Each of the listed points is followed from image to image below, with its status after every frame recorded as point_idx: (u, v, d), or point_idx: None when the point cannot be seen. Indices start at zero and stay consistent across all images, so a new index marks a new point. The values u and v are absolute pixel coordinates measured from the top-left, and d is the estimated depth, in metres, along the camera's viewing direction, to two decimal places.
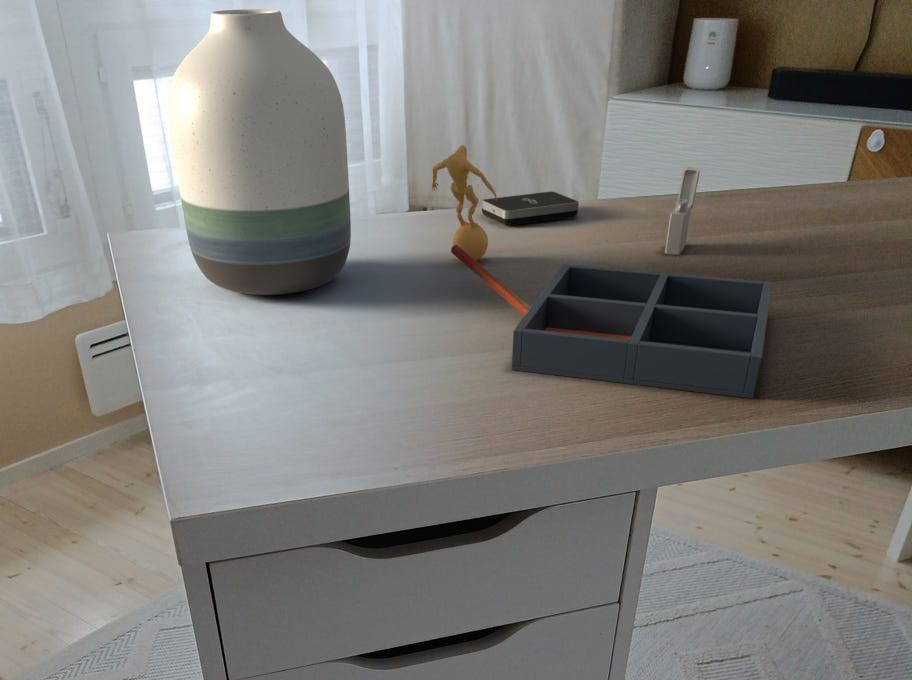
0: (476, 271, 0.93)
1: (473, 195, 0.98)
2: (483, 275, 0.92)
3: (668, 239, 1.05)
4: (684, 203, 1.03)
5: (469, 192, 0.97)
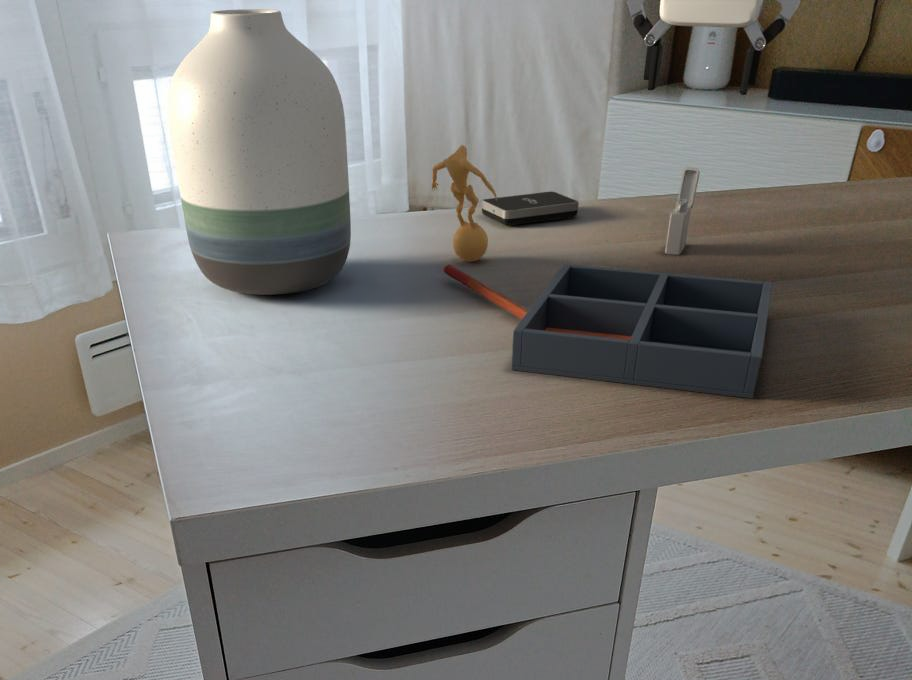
0: (471, 284, 0.93)
1: (473, 195, 0.98)
2: (479, 287, 0.92)
3: (668, 239, 1.05)
4: (684, 203, 1.03)
5: (469, 192, 0.97)
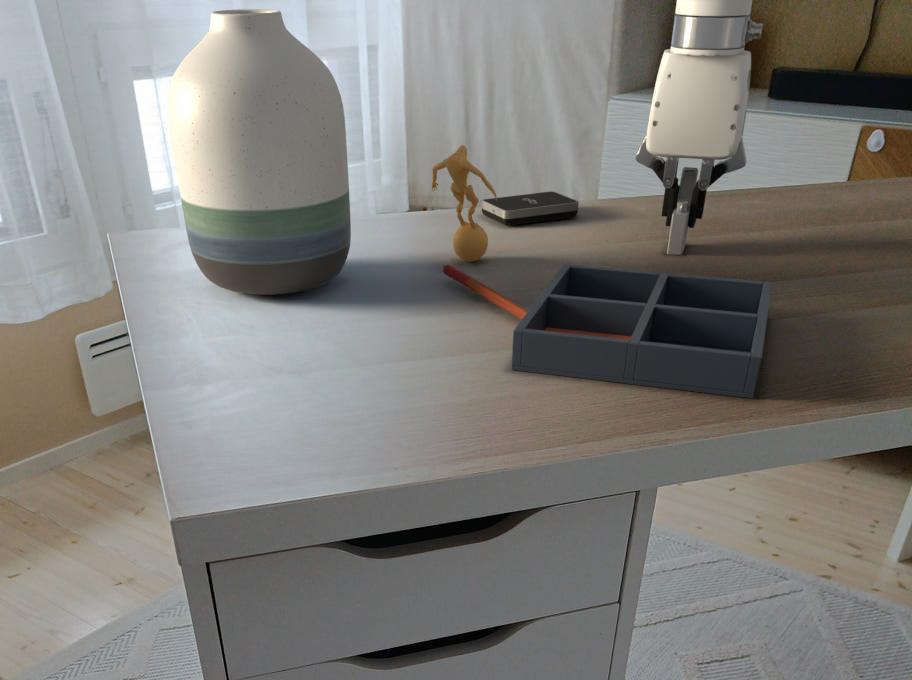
0: (470, 284, 0.93)
1: (473, 195, 0.98)
2: (478, 286, 0.92)
3: (670, 239, 1.05)
4: (685, 203, 1.03)
5: (469, 192, 0.97)
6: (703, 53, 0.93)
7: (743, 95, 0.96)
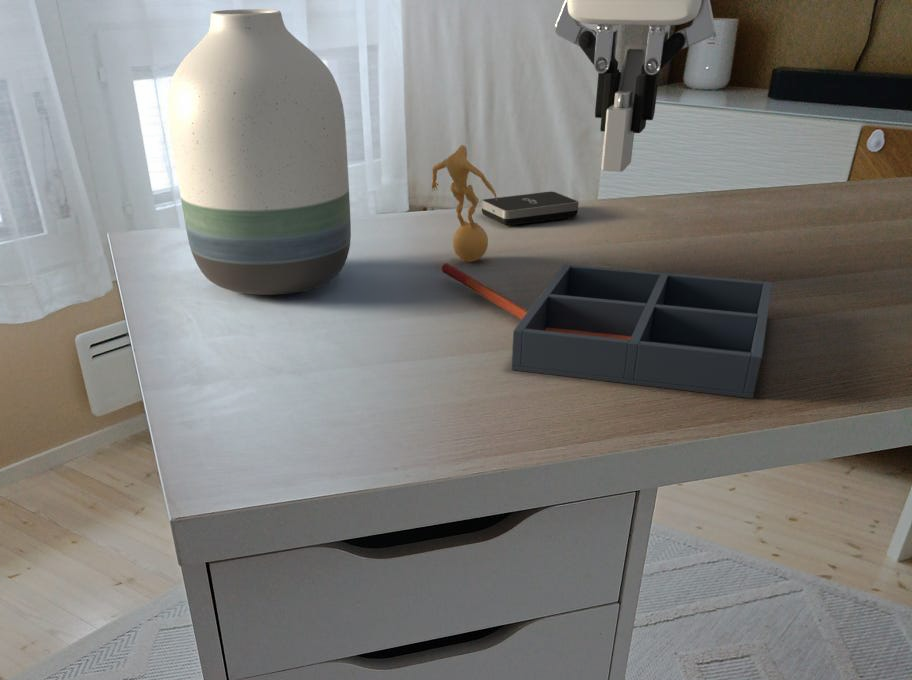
0: (470, 283, 0.93)
1: (473, 195, 0.98)
2: (478, 285, 0.92)
3: (605, 149, 0.72)
4: (626, 94, 0.71)
5: (469, 192, 0.97)
6: None
7: None
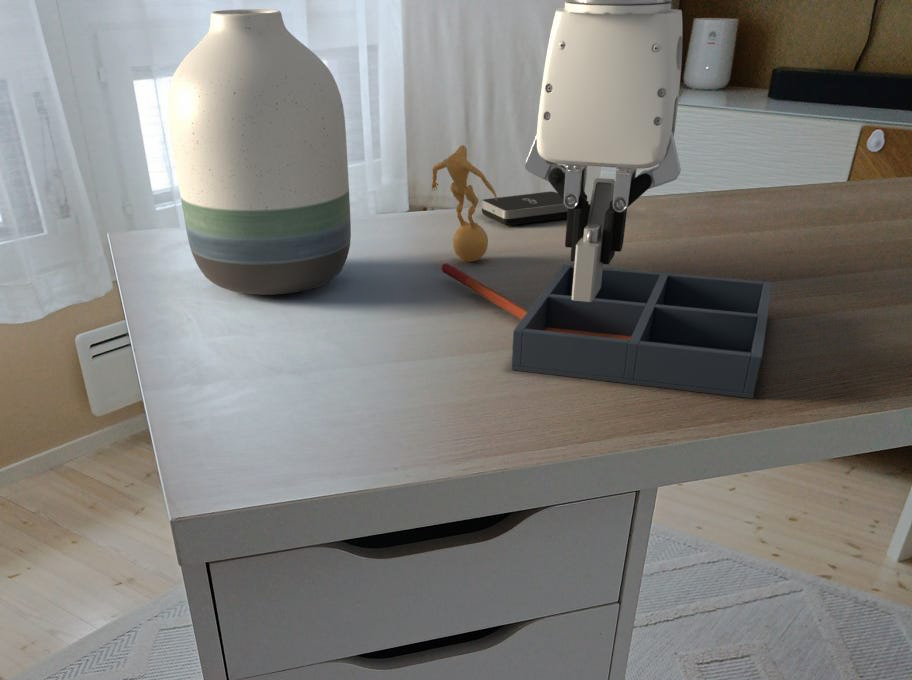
0: (470, 283, 0.93)
1: (473, 195, 0.98)
2: (478, 285, 0.92)
3: (575, 281, 0.74)
4: (595, 230, 0.72)
5: (469, 192, 0.97)
6: (608, 10, 0.62)
7: (670, 74, 0.65)
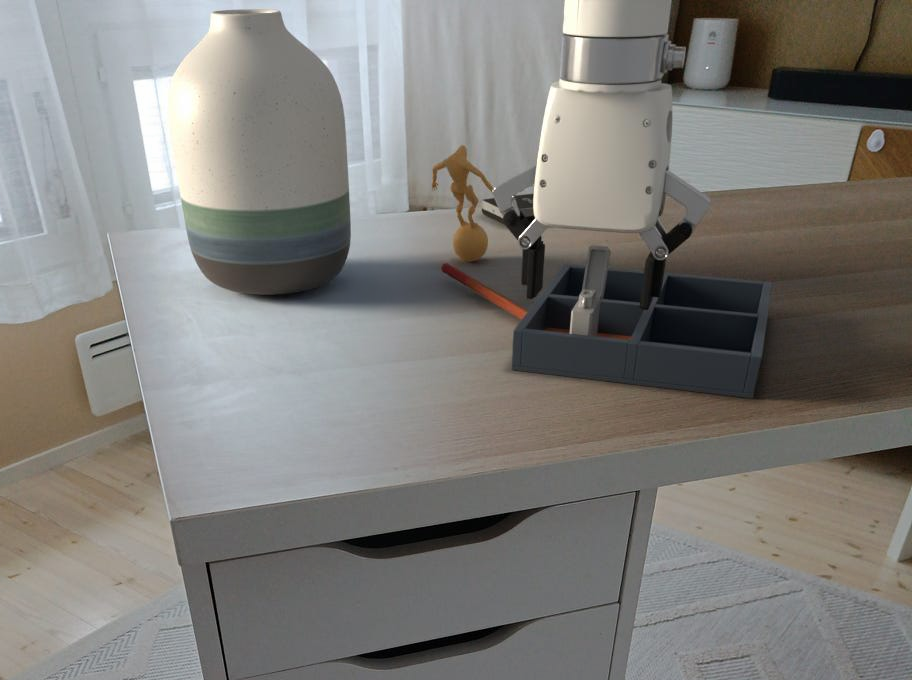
0: (470, 282, 0.93)
1: (473, 195, 0.98)
2: (478, 285, 0.92)
3: None
4: (590, 296, 0.76)
5: (469, 192, 0.97)
6: (600, 89, 0.65)
7: (661, 147, 0.68)
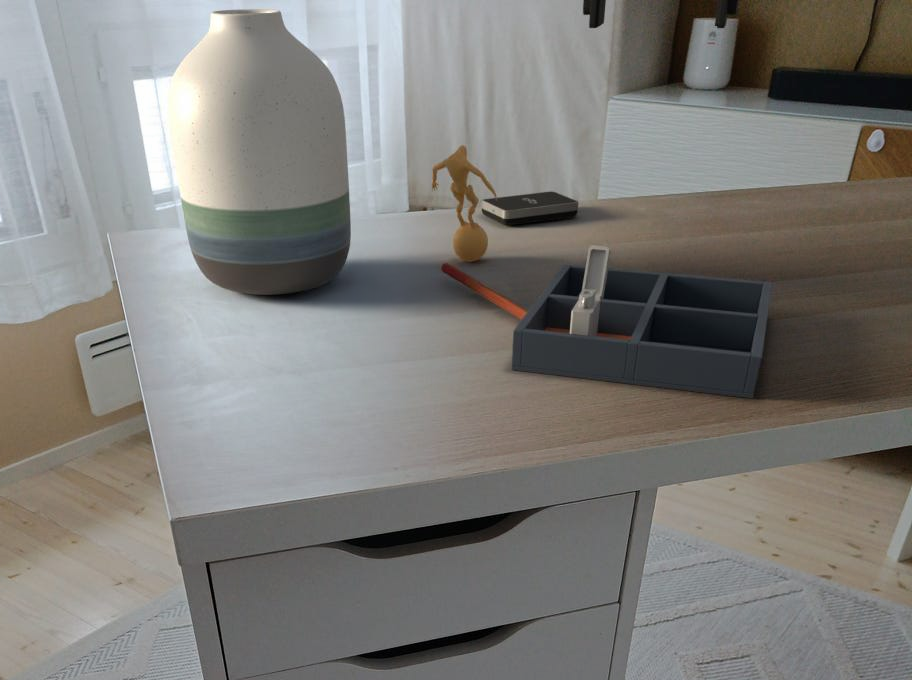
0: (469, 282, 0.93)
1: (473, 195, 0.98)
2: (478, 285, 0.92)
3: None
4: (590, 296, 0.76)
5: (469, 192, 0.97)
6: None
7: None
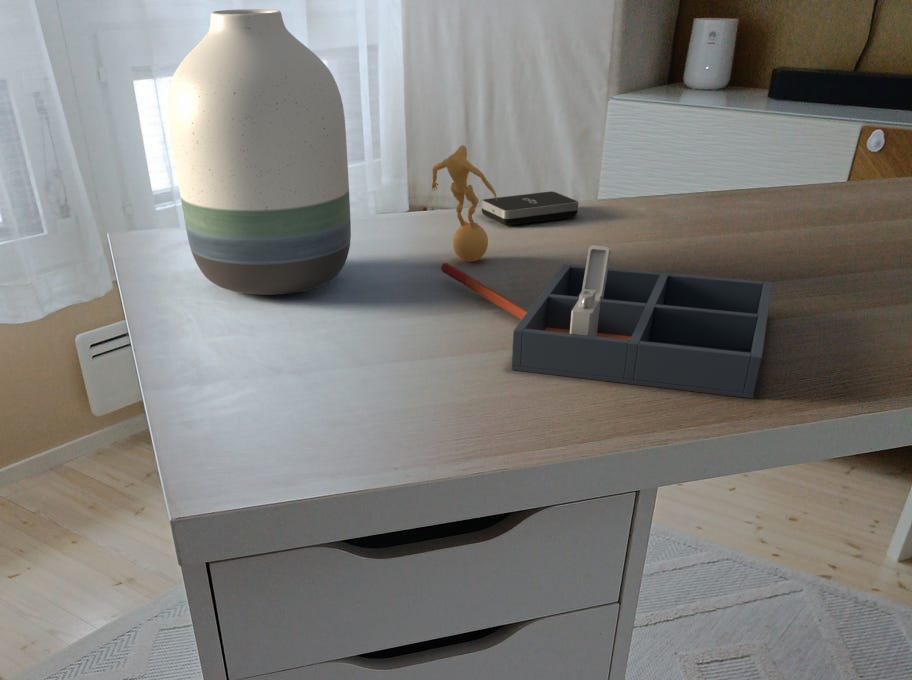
0: (469, 282, 0.93)
1: (473, 195, 0.98)
2: (478, 285, 0.92)
3: None
4: (590, 296, 0.76)
5: (469, 192, 0.97)
6: None
7: None
